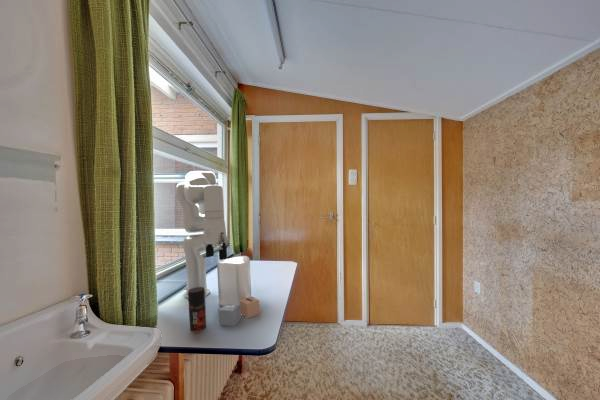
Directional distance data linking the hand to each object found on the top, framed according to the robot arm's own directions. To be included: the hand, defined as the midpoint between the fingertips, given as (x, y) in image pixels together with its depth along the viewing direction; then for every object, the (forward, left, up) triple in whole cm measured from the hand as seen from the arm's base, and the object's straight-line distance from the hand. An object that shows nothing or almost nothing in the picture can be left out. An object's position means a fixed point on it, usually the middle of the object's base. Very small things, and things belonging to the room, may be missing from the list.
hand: (216, 257), depth 107 cm
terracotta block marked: (+7, +11, -26) cm, 29 cm away
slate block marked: (+4, +2, -26) cm, 27 cm away
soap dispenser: (-5, +19, -26) cm, 33 cm away
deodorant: (-4, -7, -26) cm, 28 cm away
